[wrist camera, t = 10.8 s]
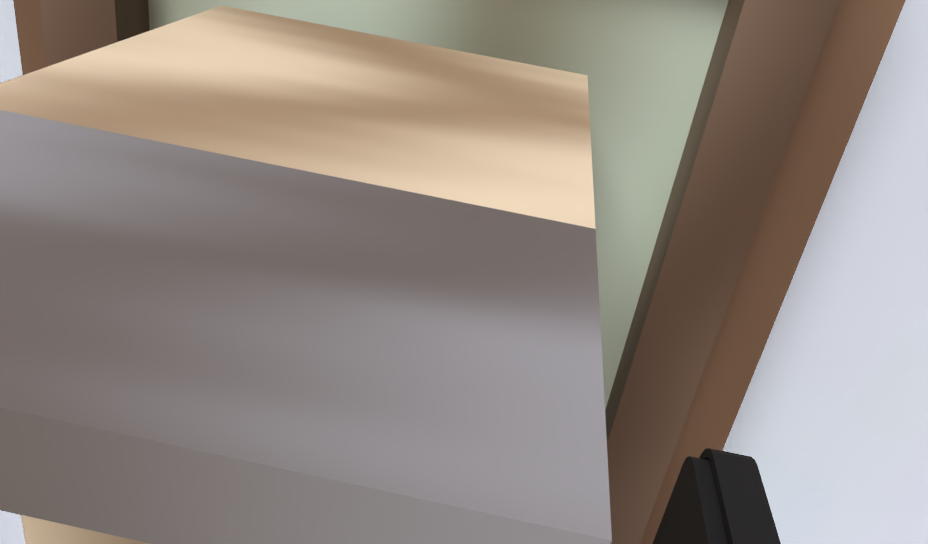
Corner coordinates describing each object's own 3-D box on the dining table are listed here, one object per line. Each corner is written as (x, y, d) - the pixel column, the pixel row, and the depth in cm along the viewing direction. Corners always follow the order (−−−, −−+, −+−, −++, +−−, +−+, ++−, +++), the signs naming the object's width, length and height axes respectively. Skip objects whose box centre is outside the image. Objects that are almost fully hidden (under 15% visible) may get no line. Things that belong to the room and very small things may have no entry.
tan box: (586, 46, 12) (610, 539, 3) (479, 509, 16) (366, 1232, 8) (273, -13, 12) (-570, 281, 3) (256, 461, 17) (-102, 1109, 8)
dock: (882, -187, 13) (1040, -221, 9) (626, 535, 22) (639, 709, 17) (119, -311, 14) (-103, -403, 9) (159, 436, 22) (52, 578, 18)
